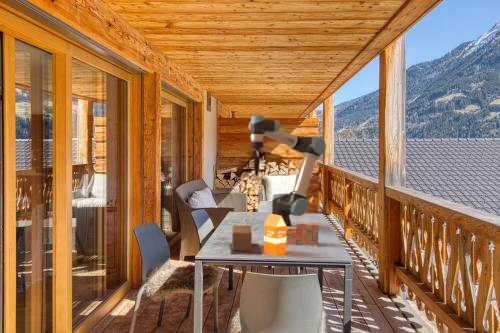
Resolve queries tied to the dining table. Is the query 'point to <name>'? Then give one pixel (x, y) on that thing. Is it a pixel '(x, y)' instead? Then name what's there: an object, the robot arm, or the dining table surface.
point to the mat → (254, 250)
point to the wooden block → (241, 238)
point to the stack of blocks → (302, 234)
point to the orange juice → (275, 235)
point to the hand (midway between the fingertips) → (256, 180)
